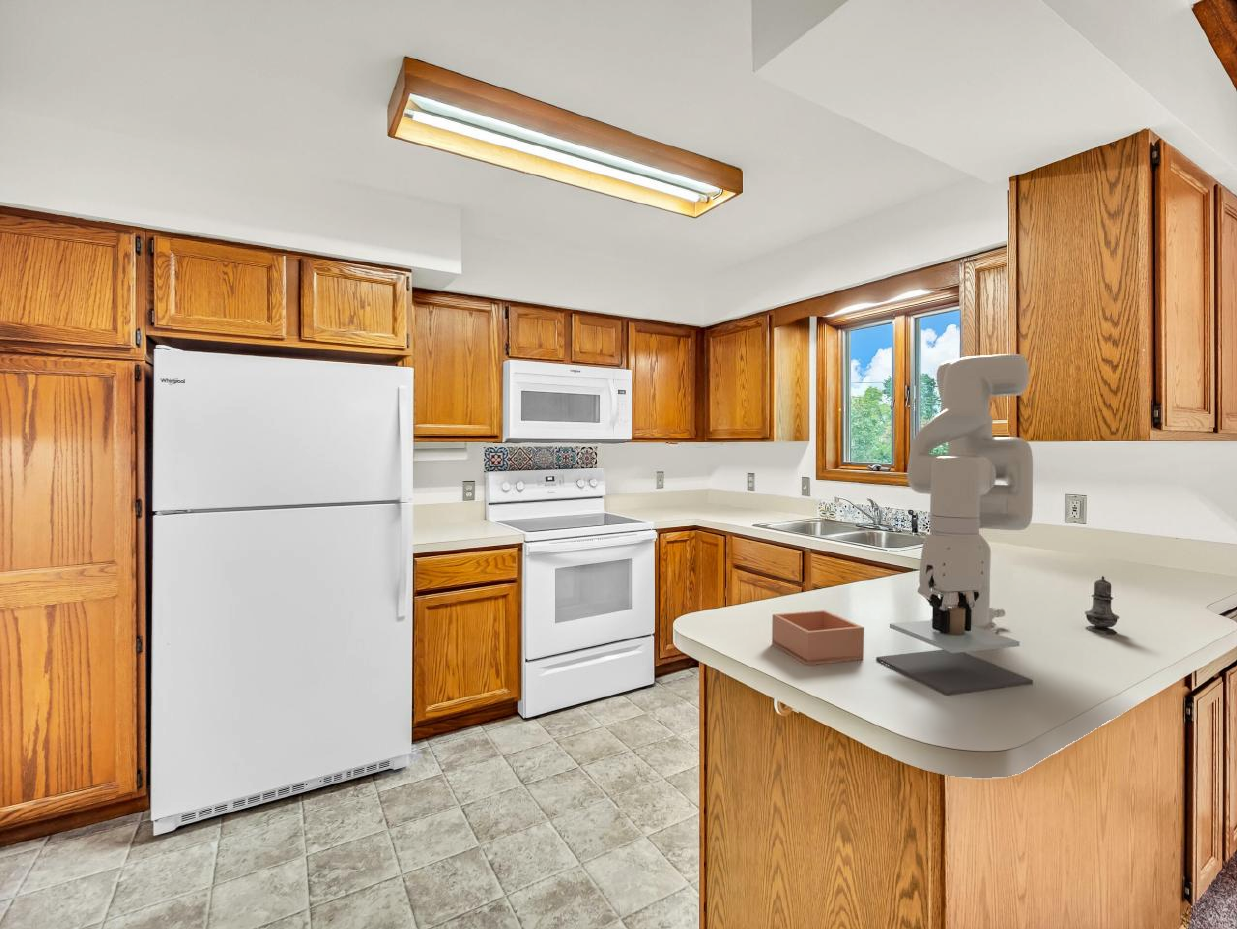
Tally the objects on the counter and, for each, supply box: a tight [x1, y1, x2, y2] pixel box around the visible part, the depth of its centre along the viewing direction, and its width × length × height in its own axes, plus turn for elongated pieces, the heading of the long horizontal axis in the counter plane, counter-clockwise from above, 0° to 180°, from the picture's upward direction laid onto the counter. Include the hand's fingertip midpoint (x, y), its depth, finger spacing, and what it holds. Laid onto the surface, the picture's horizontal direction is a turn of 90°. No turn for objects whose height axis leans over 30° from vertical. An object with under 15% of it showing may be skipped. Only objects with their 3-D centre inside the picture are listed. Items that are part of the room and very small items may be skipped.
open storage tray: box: [771, 609, 865, 667], centre depth 113 cm, size 12×12×6 cm
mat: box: [875, 649, 1034, 696], centre depth 104 cm, size 18×16×1 cm
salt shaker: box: [1084, 575, 1120, 635], centre depth 127 cm, size 6×6×12 cm
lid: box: [889, 604, 1020, 653], centre depth 103 cm, size 14×14×6 cm
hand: (951, 629), depth 103 cm, fingers closed on lid, 4 cm apart
